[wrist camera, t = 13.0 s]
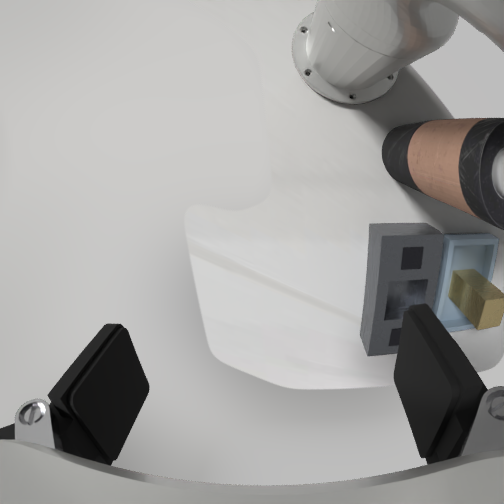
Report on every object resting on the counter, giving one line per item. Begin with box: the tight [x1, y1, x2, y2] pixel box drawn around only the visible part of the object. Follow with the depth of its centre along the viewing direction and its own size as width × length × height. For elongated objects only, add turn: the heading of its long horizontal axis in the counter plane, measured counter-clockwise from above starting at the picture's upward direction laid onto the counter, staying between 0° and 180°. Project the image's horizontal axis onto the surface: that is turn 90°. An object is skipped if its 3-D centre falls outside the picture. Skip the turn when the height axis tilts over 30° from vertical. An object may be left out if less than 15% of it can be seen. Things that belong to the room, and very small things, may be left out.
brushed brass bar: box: [448, 269, 504, 330], centre depth 32 cm, size 4×4×9 cm
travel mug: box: [382, 118, 504, 230], centre depth 23 cm, size 8×8×20 cm
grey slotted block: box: [360, 223, 444, 356], centre depth 35 cm, size 16×8×5 cm, turn 4°
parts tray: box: [432, 233, 499, 332], centre depth 36 cm, size 14×9×2 cm, turn 4°
